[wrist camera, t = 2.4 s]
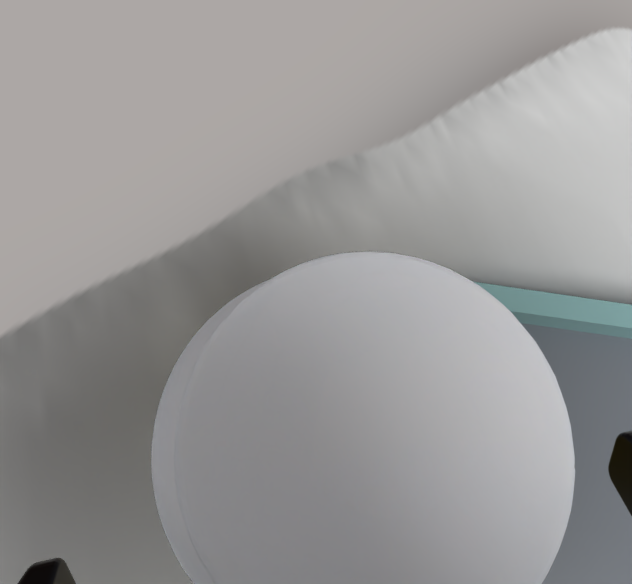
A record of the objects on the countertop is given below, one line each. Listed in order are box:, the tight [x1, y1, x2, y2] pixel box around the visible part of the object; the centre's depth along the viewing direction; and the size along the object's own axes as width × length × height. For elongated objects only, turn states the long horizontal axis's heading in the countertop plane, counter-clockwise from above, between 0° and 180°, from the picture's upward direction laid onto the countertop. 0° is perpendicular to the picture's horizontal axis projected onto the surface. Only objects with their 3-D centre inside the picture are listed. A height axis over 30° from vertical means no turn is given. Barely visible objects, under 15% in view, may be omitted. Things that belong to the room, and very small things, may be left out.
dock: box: [474, 282, 632, 584], centre depth 17 cm, size 11×11×2 cm
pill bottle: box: [151, 251, 575, 584], centre depth 12 cm, size 6×6×12 cm
